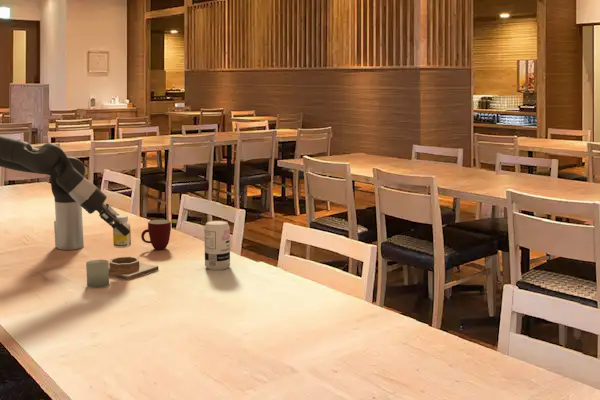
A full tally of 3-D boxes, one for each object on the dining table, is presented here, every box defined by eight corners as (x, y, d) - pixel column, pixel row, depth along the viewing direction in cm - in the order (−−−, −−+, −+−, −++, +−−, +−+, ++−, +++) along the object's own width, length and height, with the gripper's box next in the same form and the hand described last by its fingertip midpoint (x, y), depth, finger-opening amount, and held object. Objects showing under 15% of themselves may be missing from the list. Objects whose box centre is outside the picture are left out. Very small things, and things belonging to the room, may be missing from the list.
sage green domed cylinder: (82, 285, 211) (81, 263, 209) (98, 280, 216) (97, 258, 215) (97, 289, 207) (96, 266, 206) (113, 283, 213) (112, 261, 212)
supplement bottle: (122, 243, 228) (122, 213, 226) (134, 246, 225) (133, 216, 223) (109, 246, 224) (108, 216, 222) (121, 249, 221) (120, 218, 219)
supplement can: (205, 264, 236) (204, 220, 233) (230, 263, 236) (229, 220, 234) (204, 270, 228) (203, 225, 225) (229, 270, 228) (229, 225, 226)
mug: (145, 253, 249) (145, 225, 247) (139, 248, 256) (138, 221, 254) (174, 250, 254) (173, 222, 252) (167, 245, 261) (166, 218, 259)
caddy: (90, 272, 225) (90, 261, 224) (122, 262, 236) (122, 252, 236) (127, 280, 216) (126, 269, 216) (158, 269, 228) (158, 259, 228)
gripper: (80, 199, 226) (119, 235, 231) (77, 208, 212) (119, 245, 217) (97, 183, 226) (136, 218, 231) (95, 190, 212) (136, 228, 217)
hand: (127, 231), depth 224 cm, fingers closed on supplement bottle, 5 cm apart
